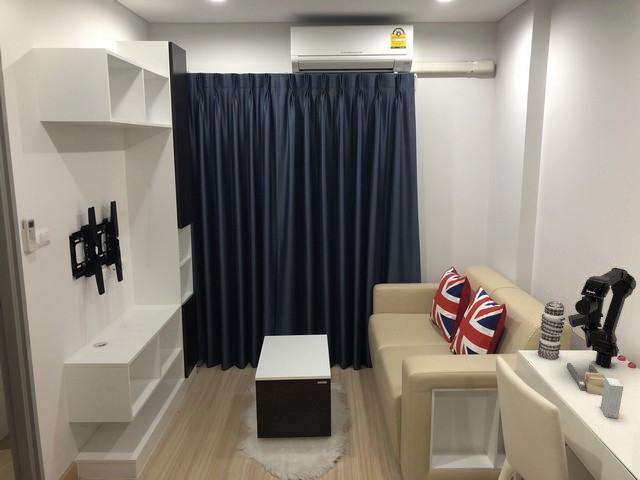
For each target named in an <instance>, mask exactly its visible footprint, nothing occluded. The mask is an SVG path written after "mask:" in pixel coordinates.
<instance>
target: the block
mask: <svg viewBox="0 0 640 480" xmlns="http://www.w3.org/2000/svg"><path fill="white" fill-rule="evenodd" d="M605 378H606V376H605V375H604V373H600V372H598V373H591V372H590V371H589V372H588V371H585V375H584V380H583V382H584V384H585V391H586V393H587V394H594V395H601V396H602V395H603V389H604V383H605Z"/></svg>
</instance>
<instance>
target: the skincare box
mask: <svg viewBox="0 0 640 480" xmlns="http://www.w3.org/2000/svg"><path fill="white" fill-rule="evenodd" d="M623 392H624V385H623V384H622V382H620V380H619V379H618V378H613V377H605V383H604V389H603V395H601V401H600V410H601V412H602V413H603V415H604V416H605V418H606V417H607V418H614V419H619V415H620V409H621V403H622V398H623Z"/></svg>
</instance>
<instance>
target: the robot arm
mask: <svg viewBox="0 0 640 480" xmlns="http://www.w3.org/2000/svg"><path fill="white" fill-rule="evenodd" d="M636 287H637V281H636V279H635V277H634V276H632V275H631V274H629V273H628V270H626V269H625V268H621V267H620V268H619V267H612V268H611V270H610V271H607V272H605V273H604V274H602V275H593V276H590V277H588V278H587V279H586V281H585V283H584V285H583V288H582V289H581V292H580V295H581V299H579V300H578V301H576V303H575V304H574V309H575V311H576V314H571V315H568V316H567V319H568V323H569V325H570V326H571V328H577V327H579V328H580V329H581V330H582V332H583V333H584V338H585V345H586V347H587V349H589V348H591V350H592V351H593V352H596V355H595V361H594V363H595V364H596V365H597V366H599V367H600V368H604V369H610V368H611V365H612V360H613V358H616V357H617V358H618V354H619V351H620V348H619V346H618V344H617V341H618V338H617V335H616V329H617V327H618V323H619V321H620V317H621V314H622V311H623V308H624V305H625V301H626V299H627V298H628V297H630V296H631V295H632V294H633V291H635V289H636ZM610 290H611V293H612V297H611V300H610V303H609V306H608V310H607V312H606V316H605V319H604V322H603V325H602V323H601V322H602V321H601V320H602V318H604V314H603V307H604V300H605V298H606V297H607V295H608V294H609V292H610Z"/></svg>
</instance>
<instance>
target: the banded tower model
mask: <svg viewBox="0 0 640 480" xmlns="http://www.w3.org/2000/svg"><path fill="white" fill-rule="evenodd" d="M565 309H566V306H564V304H563V303H562V302H560V301H554V300H550V301H547V302H546V303H545V304H544V310H543V313H542V314H541V322H540V325H541V326H540V332H541V336H540V338H539V340H538V341H539V343H538V348H537V350H538V351H537V356H539V357H541V358H543V359H546V360H557V359H559V357H560V350H561V336H562V334H563V330H562V329H564V325H565V320H566V318H565V314H564V313H565Z"/></svg>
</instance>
